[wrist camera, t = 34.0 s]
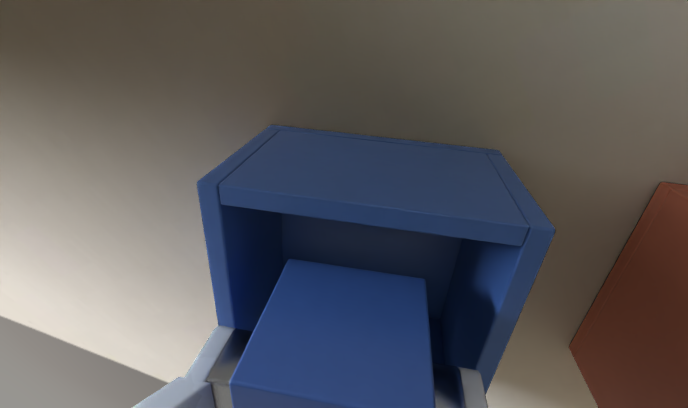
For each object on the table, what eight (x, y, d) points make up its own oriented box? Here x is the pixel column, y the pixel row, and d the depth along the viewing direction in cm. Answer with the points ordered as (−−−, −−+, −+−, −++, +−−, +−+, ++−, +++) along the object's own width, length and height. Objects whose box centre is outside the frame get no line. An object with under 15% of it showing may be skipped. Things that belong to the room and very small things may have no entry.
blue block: (289, 348, 12) (242, 483, 9) (288, 257, 10) (227, 381, 7) (404, 369, 12) (405, 519, 8) (426, 277, 10) (438, 422, 6)
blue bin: (276, 291, 18) (227, 393, 13) (270, 124, 14) (195, 181, 9) (449, 319, 17) (466, 441, 12) (499, 149, 13) (557, 229, 8)
